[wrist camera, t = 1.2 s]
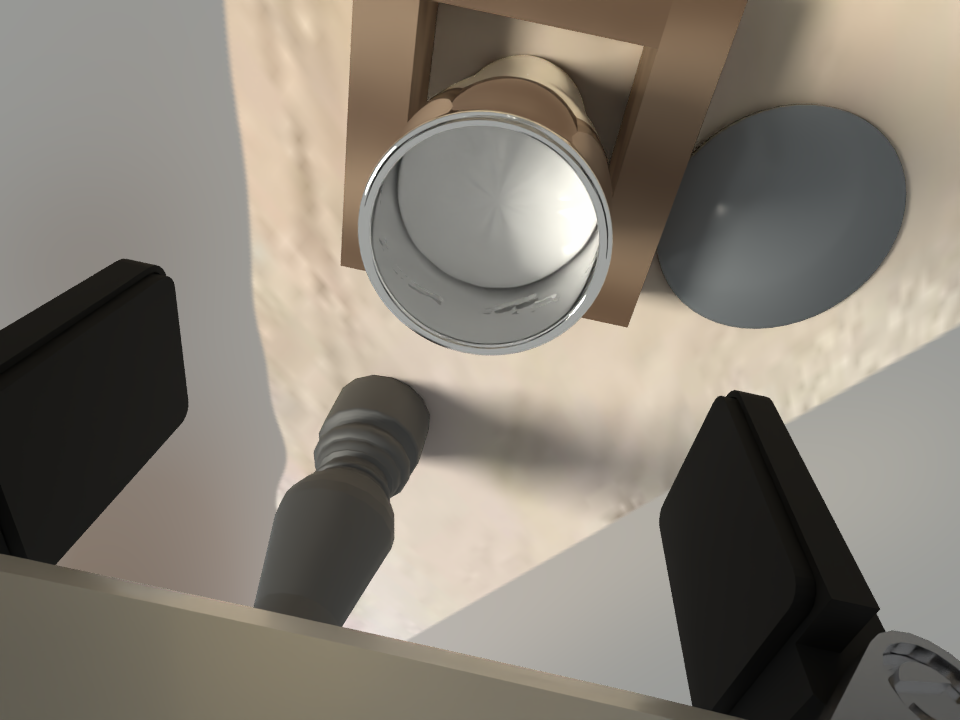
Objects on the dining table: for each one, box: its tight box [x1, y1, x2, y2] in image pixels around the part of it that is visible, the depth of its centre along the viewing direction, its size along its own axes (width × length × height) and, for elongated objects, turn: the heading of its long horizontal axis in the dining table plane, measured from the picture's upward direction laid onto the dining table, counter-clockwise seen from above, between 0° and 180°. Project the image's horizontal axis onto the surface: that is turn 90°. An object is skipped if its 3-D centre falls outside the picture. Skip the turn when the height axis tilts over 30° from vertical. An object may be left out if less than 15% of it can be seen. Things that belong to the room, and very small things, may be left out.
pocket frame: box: [341, 0, 748, 327], centre depth 26 cm, size 14×14×4 cm
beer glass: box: [358, 55, 613, 355], centre depth 21 cm, size 7×7×15 cm
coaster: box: [657, 104, 906, 329], centre depth 28 cm, size 11×11×1 cm
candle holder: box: [253, 375, 429, 627], centre depth 28 cm, size 6×6×25 cm
